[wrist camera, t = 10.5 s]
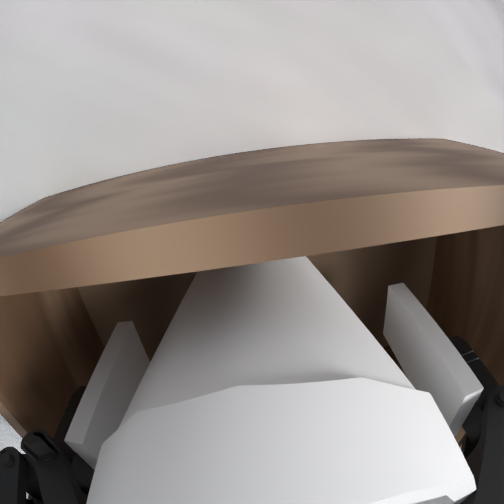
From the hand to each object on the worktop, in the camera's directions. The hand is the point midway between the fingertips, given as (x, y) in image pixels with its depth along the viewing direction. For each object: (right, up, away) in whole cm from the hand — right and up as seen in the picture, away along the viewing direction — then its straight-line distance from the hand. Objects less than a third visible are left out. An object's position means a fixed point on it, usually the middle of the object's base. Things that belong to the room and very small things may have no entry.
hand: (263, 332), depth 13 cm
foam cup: (0, +2, +3) cm, 4 cm away
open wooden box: (0, +2, +4) cm, 5 cm away
